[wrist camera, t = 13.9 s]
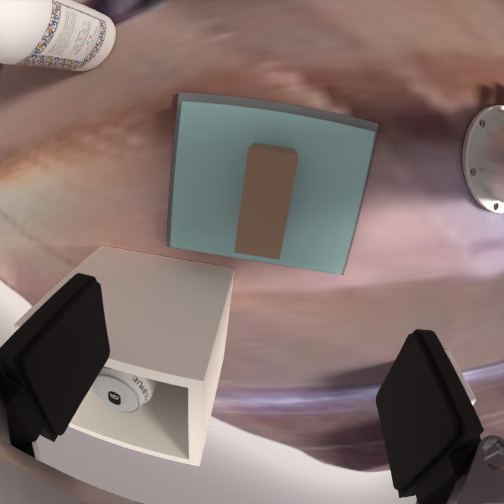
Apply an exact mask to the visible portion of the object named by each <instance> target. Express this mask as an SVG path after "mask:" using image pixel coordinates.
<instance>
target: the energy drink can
mask: <svg viewBox="0 0 504 504" xmlns="http://www.w3.org/2000/svg"><path fill="white" fill-rule="evenodd" d="M157 382H158V381H156V380H152V379H148V378H144V377H140V376H136V375H133V374H129V373H125V372H122V371H118V370H115V369H112V368H108V367H105V366H104V367H103V368H102V370H101V371H100V373H99V375H98V376H97V378H96V380H95V381H94V383H93V385H92V386H91V391H92V393H93V394H94V396H95V397H96V398H97V399H98V400H99V401H100V402H101V403H103V404H104V405H105V406H107V407H109V408H111V409H113V410H115V411H118V412H121V413H134V412H136V411H138V409H139V408H140V406H141V405H143V404H144V403H146V402H148V401H149V400H150V399H151V397H152V394H153V392H154V389H155V387H156V384H157Z"/></svg>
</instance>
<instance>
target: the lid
mask: <svg viewBox="0 0 504 504" xmlns="http://www.w3.org/2000/svg"><path fill="white" fill-rule="evenodd" d="M374 136H375V132H373V131H369V130H365V129H361V128H357V127H353V126H349V125H344V124H340V123H335V122H331V121H326V120H321V119H316V118H311V117H306V116H300V115H295V114H289V113H283V112H277V111H270V110H264V109H256V108H249V107H241V106H232V105H223V104H212V103H200V102H186V101H182V107H181V115H180V124H179V133H178V142H177V153H176V164H175V175H174V188H173V203H172V220H171V241H170V247H172V248H178V249H184V250H190V251H196V252H202V253H209V254H215V255H221V256H227V257H233V258H239V259H245V260H252V261H258V262H264V263H270V264H277V265H283V266H289V267H295V268H302V269H308V270H314V271H321V272H327V273H334V274H340V275H341V274H342V270H343V267H344V263H345V260H346V256H347V253H348V249H349V245H350V242H351V238H352V234H353V230H354V226H355V222H356V218H357V214H358V210H359V206H360V202H361V198H362V193H363V189H364V184H365V180H366V175H367V171H368V166H369V161H370V156H371V151H372V146H373V141H374Z"/></svg>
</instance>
